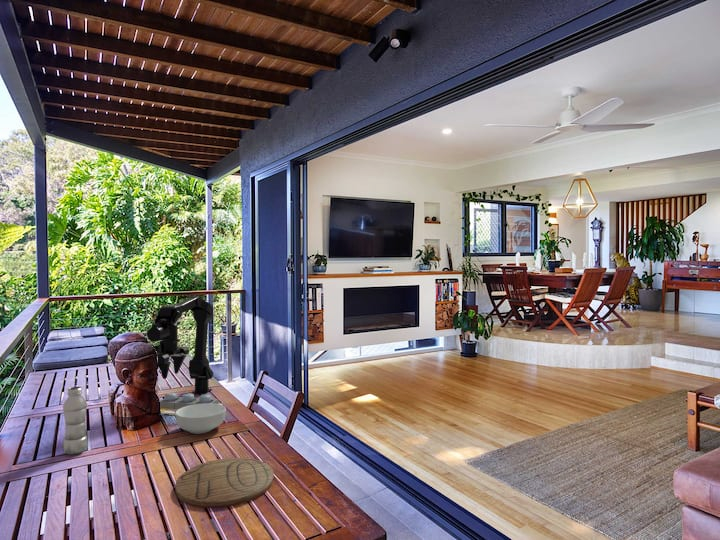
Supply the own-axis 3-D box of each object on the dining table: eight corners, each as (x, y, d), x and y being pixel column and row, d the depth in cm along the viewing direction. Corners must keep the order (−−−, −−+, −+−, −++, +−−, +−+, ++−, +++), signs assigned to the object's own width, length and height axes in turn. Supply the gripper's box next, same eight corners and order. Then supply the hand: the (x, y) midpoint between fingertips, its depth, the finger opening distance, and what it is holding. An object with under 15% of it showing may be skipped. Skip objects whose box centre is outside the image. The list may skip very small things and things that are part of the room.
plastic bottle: (62, 458, 139) (61, 392, 139) (64, 450, 145) (63, 386, 145) (87, 454, 142) (86, 389, 142) (88, 446, 148) (87, 384, 148)
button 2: (186, 400, 189) (186, 393, 189) (196, 401, 188) (195, 393, 188) (179, 403, 184) (179, 396, 184) (190, 404, 183) (190, 396, 183)
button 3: (203, 401, 187) (203, 394, 187) (213, 402, 186) (213, 394, 186) (197, 404, 183) (197, 397, 183) (207, 405, 182) (207, 397, 182)
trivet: (177, 519, 107) (177, 510, 107) (173, 473, 130) (173, 466, 130) (283, 496, 117) (283, 489, 117) (263, 458, 140) (263, 451, 140)
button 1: (169, 399, 190) (169, 392, 190) (179, 400, 189) (179, 392, 189) (162, 402, 186) (162, 395, 186) (172, 403, 185) (172, 395, 185)
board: (169, 402, 194) (169, 394, 194) (223, 405, 190) (223, 397, 190) (148, 413, 180) (148, 405, 180) (205, 417, 176) (205, 408, 176)
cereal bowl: (235, 429, 164) (235, 409, 163) (190, 442, 151) (190, 421, 151) (210, 418, 175) (210, 399, 175) (166, 430, 163) (166, 409, 163)
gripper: (165, 333, 197) (165, 369, 198) (136, 341, 179) (137, 381, 179) (189, 333, 195) (190, 370, 196) (163, 341, 177) (164, 382, 177)
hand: (170, 376), depth 187 cm, fingers open, 8 cm apart
